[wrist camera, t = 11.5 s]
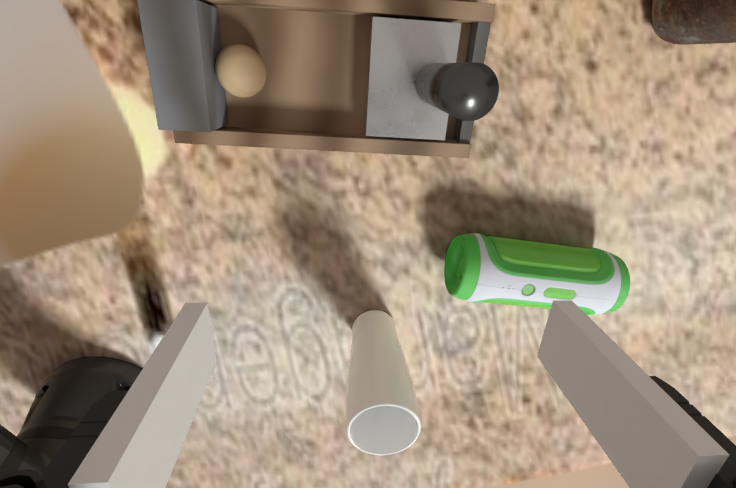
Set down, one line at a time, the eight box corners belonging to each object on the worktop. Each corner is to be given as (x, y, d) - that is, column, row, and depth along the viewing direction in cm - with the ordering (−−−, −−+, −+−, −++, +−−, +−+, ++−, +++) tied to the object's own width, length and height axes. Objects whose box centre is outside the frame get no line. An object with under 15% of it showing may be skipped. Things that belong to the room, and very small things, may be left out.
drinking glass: (348, 301, 45) (348, 401, 32) (404, 304, 46) (427, 404, 32) (344, 345, 48) (342, 455, 35) (397, 348, 49) (415, 457, 35)
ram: (364, 131, 35) (372, 164, 24) (371, 19, 32) (384, -6, 20) (439, 135, 36) (483, 169, 24) (455, 26, 32) (515, 4, 20)
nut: (276, 99, 32) (254, 95, 35) (274, 46, 30) (251, 45, 33) (229, 100, 30) (210, 95, 32) (224, 41, 28) (204, 41, 30)
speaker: (437, 276, 45) (453, 314, 38) (453, 219, 42) (473, 249, 35) (576, 292, 47) (615, 331, 40) (600, 239, 44) (647, 271, 37)
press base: (191, 135, 37) (161, 148, 31) (172, -14, 31) (131, -32, 26) (457, 149, 38) (477, 164, 32) (479, 10, 33) (508, -2, 27)
